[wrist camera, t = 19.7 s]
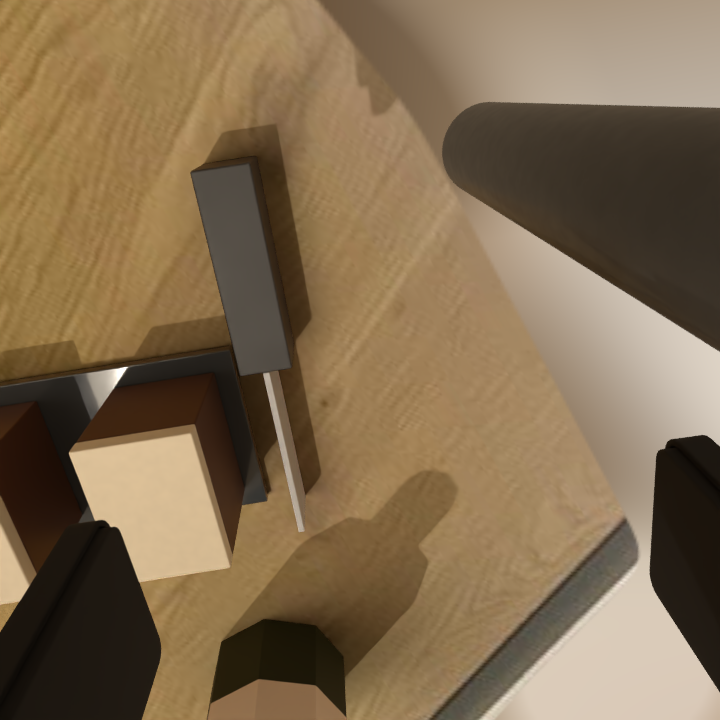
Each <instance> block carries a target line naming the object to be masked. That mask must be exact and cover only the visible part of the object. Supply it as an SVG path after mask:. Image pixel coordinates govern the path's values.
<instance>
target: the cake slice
mask: <svg viewBox="0 0 720 720" xmlns="http://www.w3.org/2000/svg"><path fill="white" fill-rule="evenodd" d="M81 517H82V513H81V510H80V508H79V505H78V503H77V500H76V498H75V496H74V493H73V491H72V488H71V486H70V483H69V481H68V478H67V476H66V473H65V471H64V468H63V466H62V463H61V461H60V458H59V456H58V453H57V451H56V448H55V446H54V443H53V441H52V438H51V436H50V433H49V431H48V428H47V426H46V424H45V421H44V419H43V416H42V414H41V411H40V409H39V406H38V404H37V402H36V401H32V402H26V403H20V404H14V405H7V406H1V407H0V605H1V604H7V603H13V602H20V600H21V599H22V597H23V595H24V594H25V592H26V591H27V589H28V587H29V586H30V584H31V583H32V581H33V579H34V578H35V576H36V575H37V573H38V571H39V570H40V568H41V567H42V565H43V563H44V562H45V560H46V559H47V557H48V556H49V554H50V552H51V551H52V549H53V548H54V546H55V544H56V543H57V541H58V540H59V538H60V536H61V535H62V533H63V532H64V530H65V529H66V528H67V526H68V525H71V524H76V523H79V521H80V519H81Z"/></svg>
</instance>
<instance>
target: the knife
mask: <svg viewBox="0 0 720 720" xmlns="http://www.w3.org/2000/svg"><path fill="white" fill-rule="evenodd" d="M190 174H191V178H192V182H193V186H194V190H195V194H196V198H197V202H198V206H199V211H200V215H201V219H202V223H203V227H204V231H205V235H206V239H207V243H208V247H209V252H210V256H211V260H212V264H213V268H214V272H215V276H216V280H217V284H218V288H219V292H220V297H221V301H222V305H223V309H224V313H225V317H226V321H227V325H228V329H229V333H230V338H231V342H232V346H233V350H234V354H235V358H236V362H237V366H238V370H239V374H240V376H245V375H252V374H258V373H263V376H264V380H265V385H266V389H267V394H268V398H269V402H270V407H271V411H272V416H273V420H274V424H275V429H276V433H277V438H278V442H279V446H280V451H281V455H282V460H283V464H284V468H285V473H286V477H287V482H288V486H289V490H290V495H291V499H292V504H293V508H294V513H295V517H296V521H297V526H298V530H299V532H302V531H305V492H304V487H303V482H302V478H301V473H300V468H299V464H298V459H297V455H296V450H295V445H294V441H293V436H292V431H291V427H290V422H289V417H288V413H287V408H286V403H285V399H284V394H283V390H282V385H281V380H280V376H279V371H278V370H284V369H290V368H292V362H293V351H294V340H293V335H292V330H291V325H290V320H289V315H288V310H287V305H286V300H285V295H284V290H283V285H282V280H281V275H280V270H279V265H278V260H277V255H276V250H275V245H274V240H273V235H272V230H271V225H270V220H269V215H268V210H267V205H266V200H265V195H264V190H263V185H262V180H261V175H260V170H259V165H258V160H257V157H256V156H251V157H245V158H238V159H232V160H225V161H219V162H212V163H206V164H203V165H201V166H200V167H198V168H196V169H194V170H193V171H191V173H190Z"/></svg>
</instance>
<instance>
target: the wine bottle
mask: <svg viewBox="0 0 720 720" xmlns="http://www.w3.org/2000/svg"><path fill="white" fill-rule="evenodd" d="M207 720H346V700H345V680H344V660H343V656H342V655H341V653H340V652H339V651H338V650H337V649H336V648H335V647H334V646H333V645H332V643H331V642H330V641H329V640H328V639H327V638H326V637H325V636H324V635H323V633H322V632H321V631H320V630H319V629H318V628H317V627H316V626H312V625H304V624H296V623H288V622H280V621H272V620H262V621H260V622H259V623H257V624H255V625H253V626H251V627H249V628H247V629H245V630H244V631H242V632H240V633H238V634H236V635H234V636H232V637H230V638H228V639H227V640H225V641H223V642H221V647H220V652H219V656H218V661H217V666H216V671H215V676H214V681H213V687H212V693H211V699H210V704H209V710H208V716H207Z"/></svg>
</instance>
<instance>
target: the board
mask: <svg viewBox="0 0 720 720" xmlns="http://www.w3.org/2000/svg"><path fill="white" fill-rule="evenodd" d="M207 373H214V374H215V378H216V382H217V386H218V389H219V393H220V397H221V401H222V405H223V408H224V412H225V416H226V420H227V424H228V427H229V431H230V435H231V439H232V442H233V446H234V450H235V454H236V458H237V461H238V465H239V469H240V473H241V477H242V480H243V484H244V488H245V490H244V496H243V501H242V505H246V504H252V503H259V502H265V501H267V499H268V492H267V488H266V484H265V480H264V476H263V472H262V468H261V464H260V460H259V456H258V452H257V448H256V444H255V440H254V436H253V432H252V428H251V424H250V419H249V415H248V411H247V407H246V403H245V399H244V395H243V391H242V387H241V383H240V379H239V375H238V371H237V367H236V363H235V359H234V355H233V351H232V347H231V346H225V347H219V348H213V349H207V350H200V351H194V352H188V353H181V354H175V355H169V356H162V357H156V358H150V359H144V360H137V361H131V362H125V363H118V364H112V365H106V366H99V367H93V368H87V369H81V370H74V371H68V372H62V373H55V374H49V375H43V376H36V377H30V378H24V379H18V380H11V381H5V382H0V407H1V406H7V405H14V404H20V403H26V402H32V401H36V402H37V404H38V406H39V409H40V411H41V414H42V416H43V419H44V421H45V424H46V426H47V428H48V431H49V433H50V436H51V438H52V441H53V443H54V446H55V448H56V451H57V453H58V456H59V458H60V461H61V463H62V466H63V468H64V471H65V473H66V476H67V478H68V481H69V483H70V486H71V488H72V491H73V493H74V496H75V498H76V500H77V503H78V505H79V508H80V510H81V513H82V517H81V519H80V521H79V523H83V522H90V521H95V519H94V517H93V514H92V512H91V509H90V506H89V504H88V501H87V499H86V496H85V494H84V491H83V489H82V486H81V483H80V481H79V478H78V476H77V473H76V471H75V468H74V466H73V463H72V461H71V458H70V455H69V451H70V450H71V449H72V447H73V446H74V444H75V443H77V440H78V439H79V438H80V436H81V435H82V433H83V432H84V430H85V429H86V428H87V426H88V425H89V423H90V422H91V420H92V419H93V417H94V416H95V415H96V413H97V412H98V410H99V409H100V407H101V406H102V405H103V403H104V402H105V400H106V399H107V397H108V396H109V394H110V393H111V392H112V390H113V389H114V388H119V387H125V386H131V385H138V384H144V383H150V382H157V381H163V380H169V379H175V378H182V377H188V376H194V375H201V374H207Z"/></svg>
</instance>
